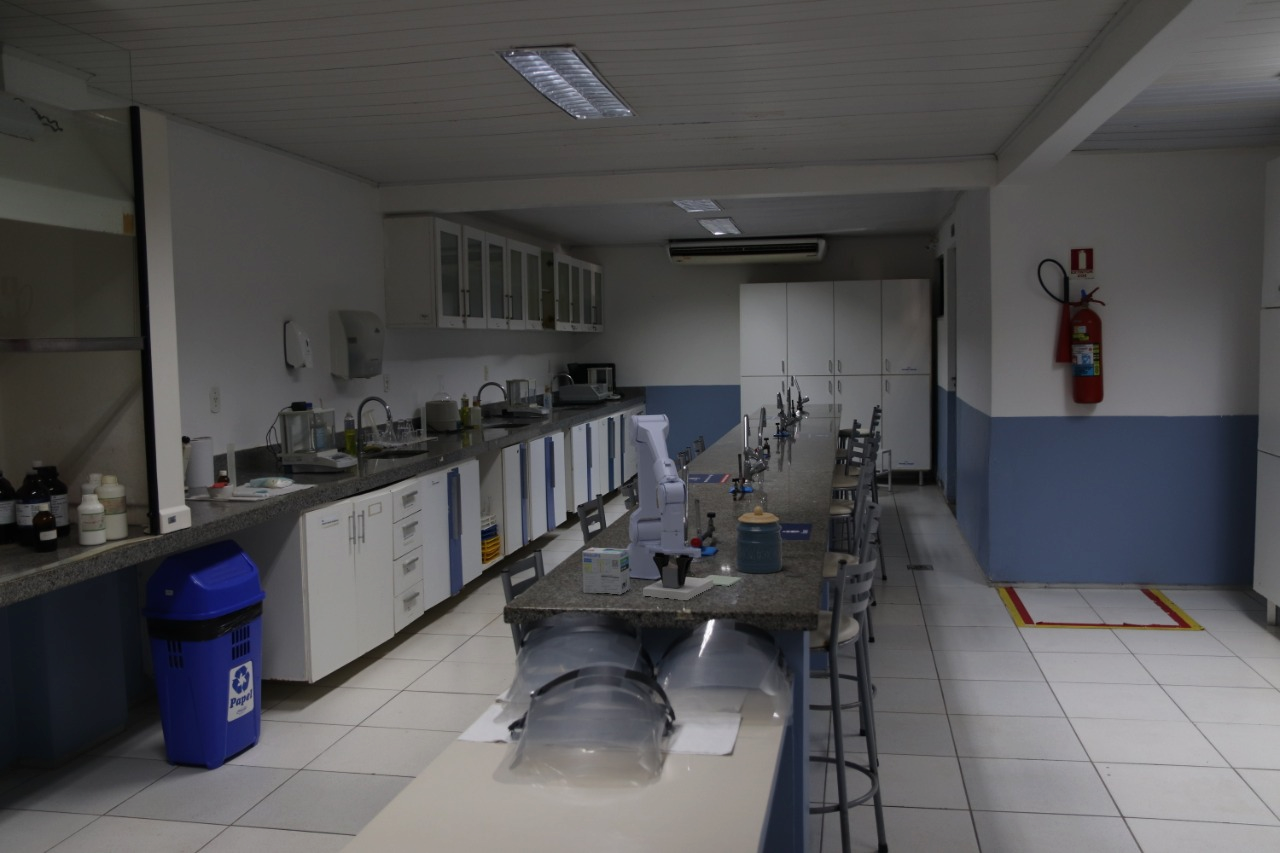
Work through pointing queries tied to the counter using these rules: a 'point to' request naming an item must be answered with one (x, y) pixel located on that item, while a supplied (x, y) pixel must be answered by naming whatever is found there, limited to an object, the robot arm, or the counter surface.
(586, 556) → the light bulb box
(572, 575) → the counter surface
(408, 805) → the counter surface
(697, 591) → the plate
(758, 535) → the canister
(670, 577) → the plug
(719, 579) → the mat
